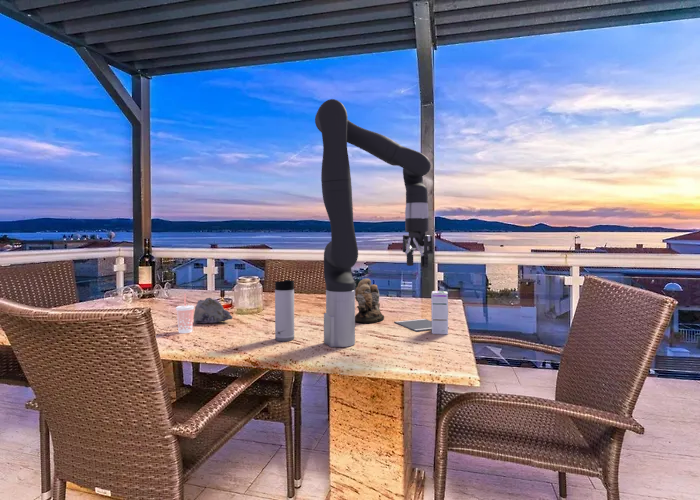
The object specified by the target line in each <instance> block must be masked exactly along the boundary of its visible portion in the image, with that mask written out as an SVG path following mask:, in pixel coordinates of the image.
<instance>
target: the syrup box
mask: <svg viewBox="0 0 700 500" xmlns="http://www.w3.org/2000/svg"><path fill="white" fill-rule="evenodd" d="M448 294H449V293H448V291H444V290H433V291H432V290H431V293H430V295H431V296H430V297H431V321H432V330H431V334H433V335H448V334H449V328H448V327H449V295H448Z"/></svg>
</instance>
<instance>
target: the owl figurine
mask: <svg viewBox="0 0 700 500" xmlns="http://www.w3.org/2000/svg"><path fill="white" fill-rule="evenodd" d="M380 296H381V295H380V291H379V288H378V285H377V284H373V283H372V280H371V279H370V278H367V277H366V278H363V279H361V280H360V281H359V282H358V284H357V287H355V302H357V304H358V305H357V306H356V308H357V310H358V313H355V323H364V324H368V325H370V324H376V323H379V322H380V323H381V322H382V321H384V320H385V316H384V314H383V313H382V311H381V309H380V306H381V303H379V302H380Z"/></svg>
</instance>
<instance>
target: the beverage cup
mask: <svg viewBox="0 0 700 500" xmlns="http://www.w3.org/2000/svg"><path fill="white" fill-rule="evenodd" d="M183 295H184V296H183V298H184V299H183V301H184V302H183V305H179V306H178V305H177V306H176V307H175V310H176V317H177V329H178V333H179V334H189V333H192V332H193V328H194V327H193V325H194V311H195V305H192V304H191V305H189V304H188V305H187V300H186V299H187V297H186V296H187V294H186V292H184V293H183Z"/></svg>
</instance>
